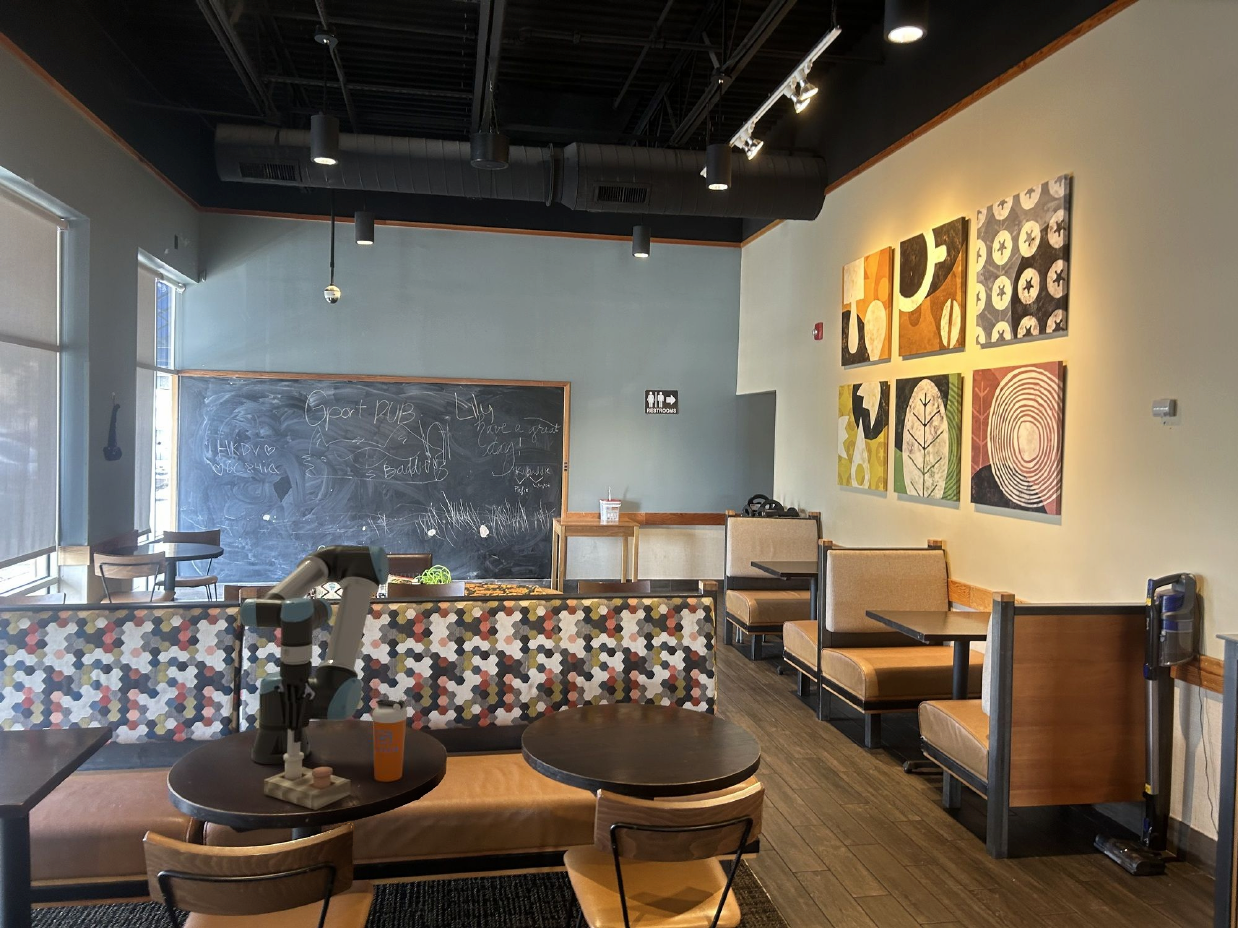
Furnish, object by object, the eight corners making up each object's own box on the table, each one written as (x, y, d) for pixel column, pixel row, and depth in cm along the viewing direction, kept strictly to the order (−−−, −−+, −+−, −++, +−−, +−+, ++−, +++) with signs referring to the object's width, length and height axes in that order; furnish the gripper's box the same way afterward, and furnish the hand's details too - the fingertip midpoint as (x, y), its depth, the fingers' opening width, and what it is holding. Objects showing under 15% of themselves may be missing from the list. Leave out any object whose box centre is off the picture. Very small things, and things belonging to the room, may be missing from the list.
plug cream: (278, 782, 213) (279, 755, 212) (294, 776, 217) (294, 750, 217) (292, 786, 210) (292, 759, 210) (307, 780, 215) (308, 753, 214)
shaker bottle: (374, 770, 228) (376, 696, 228) (408, 770, 229) (410, 696, 228) (367, 783, 219) (369, 706, 219) (402, 783, 220) (404, 706, 220)
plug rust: (306, 798, 208) (307, 771, 208) (322, 792, 212) (322, 765, 212) (320, 803, 206) (321, 775, 206) (335, 796, 210) (336, 769, 210)
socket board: (263, 793, 211) (264, 779, 210) (299, 779, 220) (299, 765, 220) (315, 809, 202) (316, 795, 202) (350, 793, 212) (350, 780, 212)
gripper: (265, 660, 213) (263, 753, 213) (302, 667, 207) (300, 763, 207) (289, 654, 219) (287, 744, 220) (326, 661, 213) (323, 754, 214)
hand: (293, 753), depth 213 cm, fingers closed
